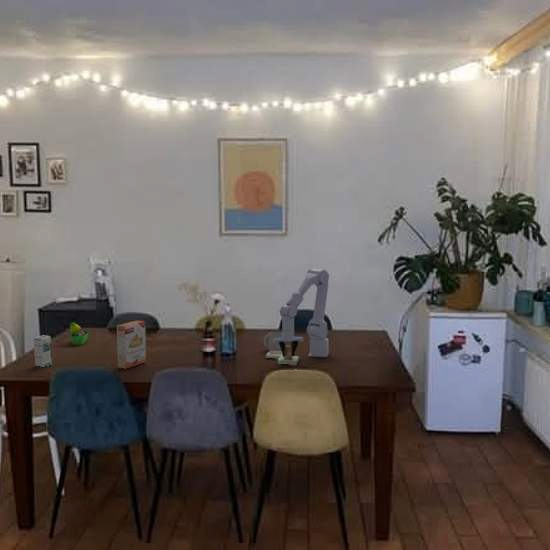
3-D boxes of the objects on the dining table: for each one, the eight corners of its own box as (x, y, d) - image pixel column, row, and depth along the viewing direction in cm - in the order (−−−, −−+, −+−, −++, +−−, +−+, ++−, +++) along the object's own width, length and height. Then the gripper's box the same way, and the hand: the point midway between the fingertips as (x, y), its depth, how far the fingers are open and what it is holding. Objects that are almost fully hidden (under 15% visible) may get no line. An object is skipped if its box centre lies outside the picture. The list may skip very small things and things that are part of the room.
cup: (281, 352, 355) (281, 335, 353) (262, 351, 357) (262, 334, 355) (283, 348, 362) (283, 332, 360) (265, 347, 364) (265, 331, 362)
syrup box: (43, 368, 327) (42, 338, 325) (34, 366, 330) (33, 337, 328) (52, 365, 332) (51, 335, 330) (44, 363, 335) (42, 334, 333)
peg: (291, 361, 337) (291, 345, 336) (290, 363, 334) (290, 347, 333) (285, 361, 337) (285, 345, 336) (284, 363, 334) (284, 347, 333)
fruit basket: (83, 345, 371) (83, 324, 369) (67, 345, 371) (66, 324, 370) (90, 340, 382) (89, 320, 381) (74, 340, 382) (73, 320, 381)
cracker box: (126, 370, 323) (125, 326, 320) (117, 368, 327) (115, 325, 324) (147, 363, 335) (145, 321, 332) (137, 361, 338) (136, 319, 335)
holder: (298, 360, 339) (298, 356, 339) (295, 365, 330) (295, 361, 330) (280, 359, 341) (280, 355, 340) (277, 364, 332) (277, 360, 332)
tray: (289, 355, 349) (289, 351, 349) (285, 359, 340) (285, 356, 340) (269, 354, 351) (269, 350, 351) (266, 358, 342) (266, 355, 342)
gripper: (300, 326, 338) (300, 353, 340) (271, 328, 335) (272, 355, 337) (304, 329, 332) (304, 357, 334) (274, 331, 329) (275, 359, 331)
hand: (288, 356), depth 335 cm, fingers open, 4 cm apart
